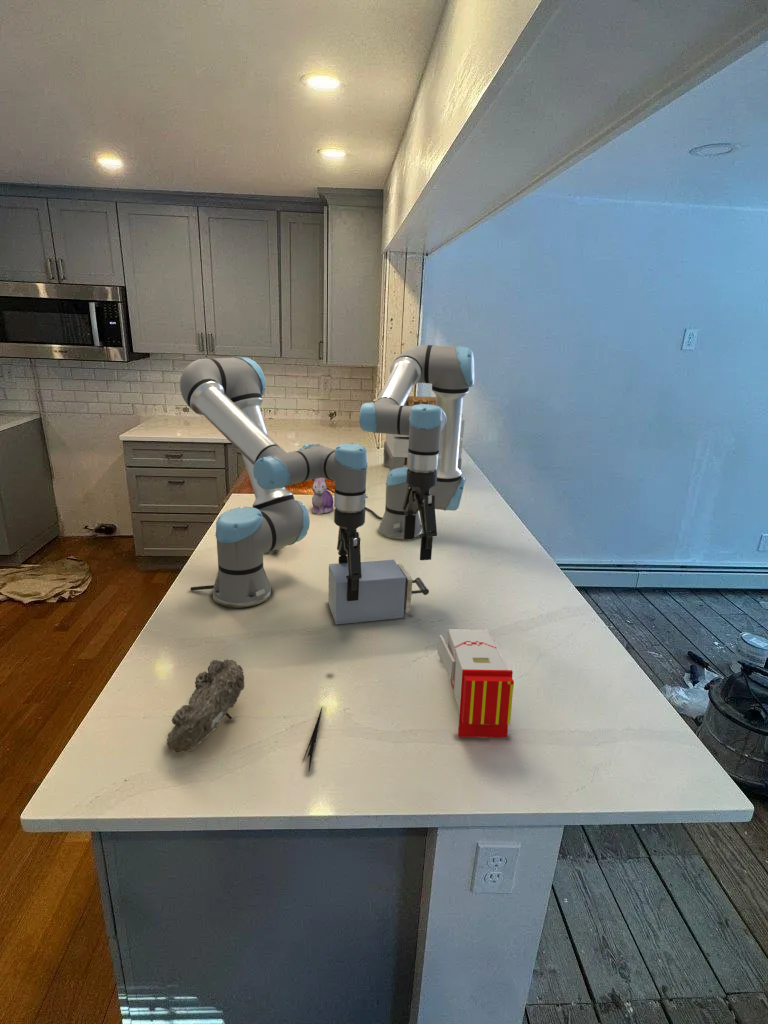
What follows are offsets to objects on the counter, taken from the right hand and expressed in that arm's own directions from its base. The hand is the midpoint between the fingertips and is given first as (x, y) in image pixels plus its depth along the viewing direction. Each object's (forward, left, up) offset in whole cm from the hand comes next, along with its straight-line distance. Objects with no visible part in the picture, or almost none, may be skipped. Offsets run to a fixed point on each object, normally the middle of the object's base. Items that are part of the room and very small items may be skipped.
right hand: (416, 548), depth 146 cm
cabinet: (-6, -12, -17) cm, 21 cm away
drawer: (-3, -7, -16) cm, 18 cm away
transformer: (-93, +92, -17) cm, 132 cm away
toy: (+33, -15, -17) cm, 41 cm away
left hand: (-8, -16, -10) cm, 21 cm away
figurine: (-75, +23, -17) cm, 80 cm away
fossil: (+8, -61, -17) cm, 63 cm away
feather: (+21, -45, -17) cm, 52 cm away
